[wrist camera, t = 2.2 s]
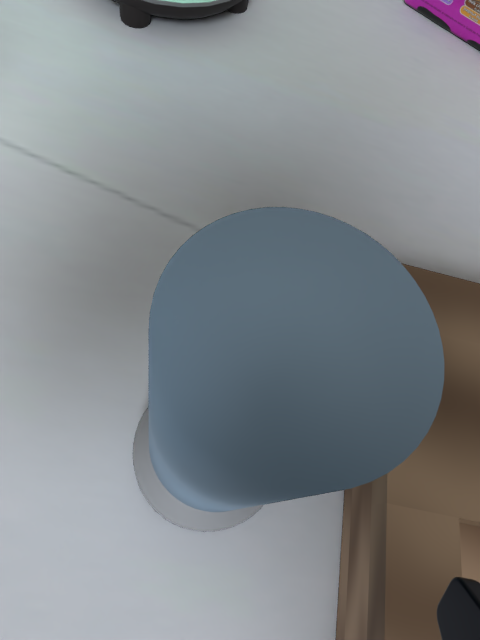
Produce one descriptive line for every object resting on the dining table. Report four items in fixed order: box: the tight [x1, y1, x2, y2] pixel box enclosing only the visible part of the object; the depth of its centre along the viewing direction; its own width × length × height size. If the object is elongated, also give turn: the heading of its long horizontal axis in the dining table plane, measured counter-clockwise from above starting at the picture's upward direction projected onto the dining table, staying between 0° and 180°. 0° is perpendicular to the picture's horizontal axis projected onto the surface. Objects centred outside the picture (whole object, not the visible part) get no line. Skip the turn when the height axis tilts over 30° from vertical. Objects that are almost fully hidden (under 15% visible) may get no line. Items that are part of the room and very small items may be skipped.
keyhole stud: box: [133, 207, 444, 531], centre depth 13 cm, size 6×6×13 cm
